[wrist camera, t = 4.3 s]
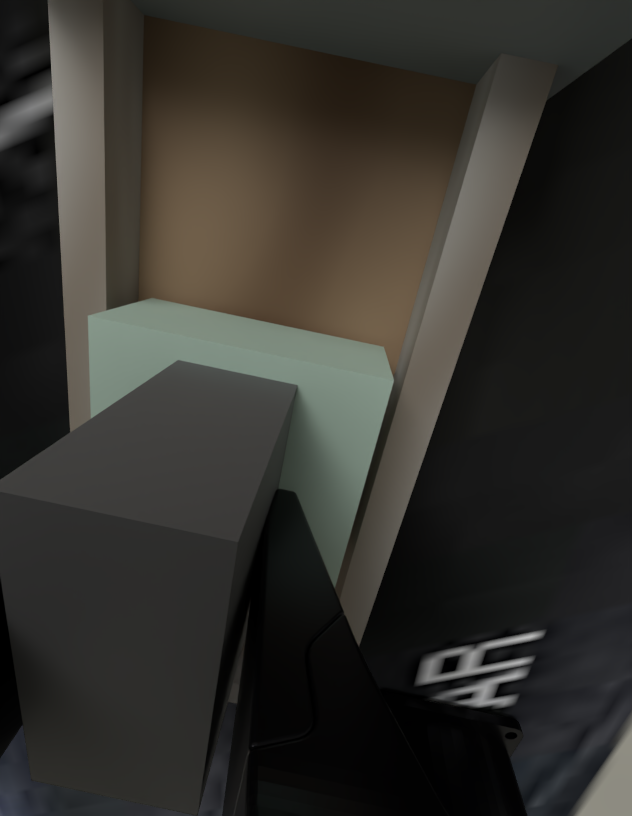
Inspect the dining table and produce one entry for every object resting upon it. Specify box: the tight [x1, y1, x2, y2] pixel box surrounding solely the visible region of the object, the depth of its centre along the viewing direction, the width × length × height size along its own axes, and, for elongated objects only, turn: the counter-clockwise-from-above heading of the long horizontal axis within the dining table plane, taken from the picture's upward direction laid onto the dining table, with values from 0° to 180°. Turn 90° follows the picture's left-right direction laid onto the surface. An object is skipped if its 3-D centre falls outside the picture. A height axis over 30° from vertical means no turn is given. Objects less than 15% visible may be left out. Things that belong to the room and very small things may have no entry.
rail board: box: [48, 0, 558, 704], centre depth 12 cm, size 9×18×4 cm, turn 169°
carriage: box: [0, 298, 394, 816], centre depth 8 cm, size 6×6×7 cm
